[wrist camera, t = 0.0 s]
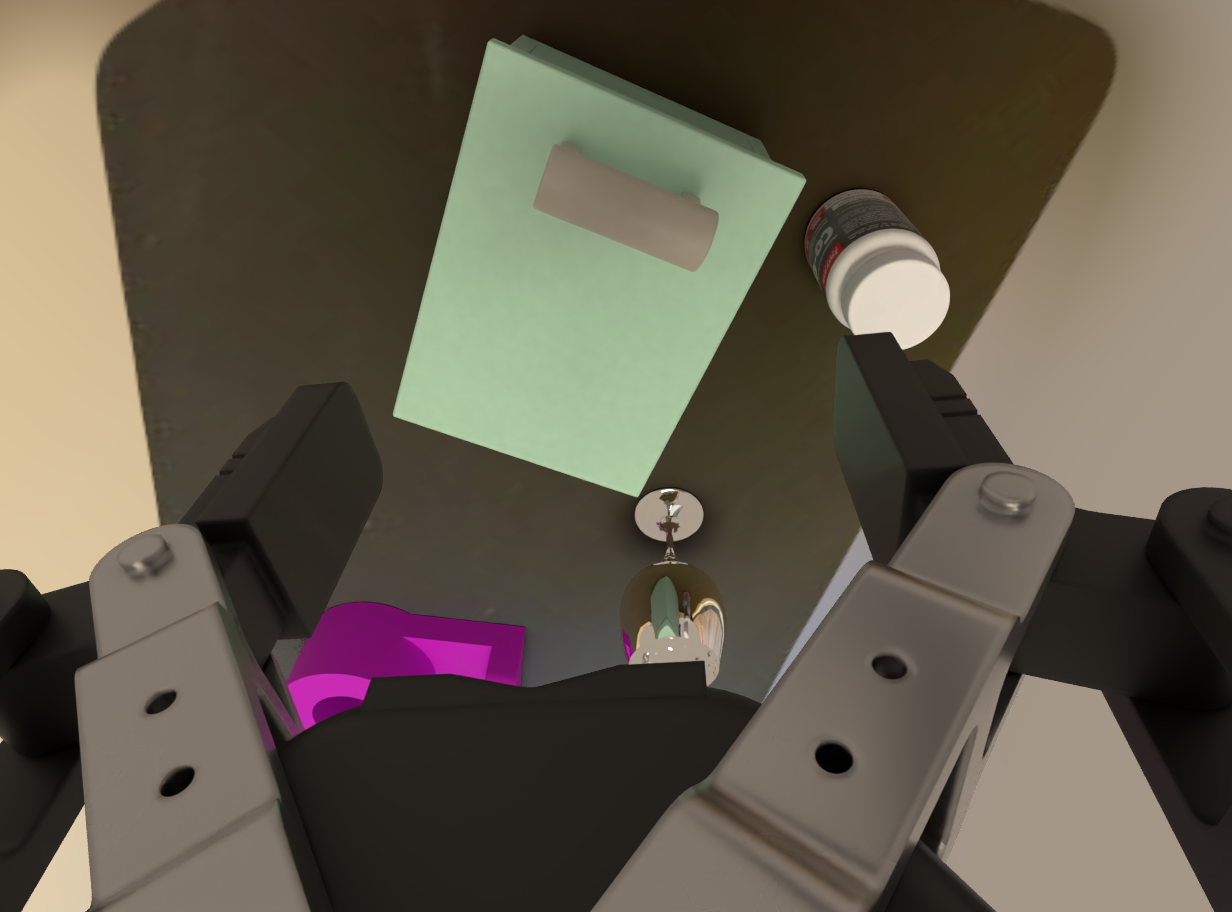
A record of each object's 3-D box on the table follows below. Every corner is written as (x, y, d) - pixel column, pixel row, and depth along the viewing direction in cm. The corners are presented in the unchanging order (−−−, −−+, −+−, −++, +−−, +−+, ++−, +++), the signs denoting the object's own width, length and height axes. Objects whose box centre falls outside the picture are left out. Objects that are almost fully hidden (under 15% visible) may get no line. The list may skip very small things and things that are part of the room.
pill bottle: (797, 201, 36) (832, 266, 29) (898, 175, 35) (959, 236, 28) (808, 291, 38) (842, 370, 31) (903, 269, 37) (959, 345, 31)
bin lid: (492, 36, 24) (458, 60, 20) (803, 174, 26) (833, 222, 22) (396, 407, 33) (358, 479, 29) (638, 487, 35) (636, 566, 31)
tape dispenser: (319, 681, 59) (287, 752, 54) (303, 595, 53) (267, 666, 48) (519, 702, 59) (507, 775, 54) (526, 619, 54) (512, 692, 49)
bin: (522, 34, 32) (485, 65, 25) (761, 140, 34) (791, 197, 27) (442, 320, 40) (397, 406, 33) (640, 392, 42) (638, 487, 35)
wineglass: (716, 544, 49) (733, 699, 39) (629, 551, 49) (624, 704, 40) (711, 475, 45) (728, 625, 36) (618, 483, 46) (610, 632, 36)
